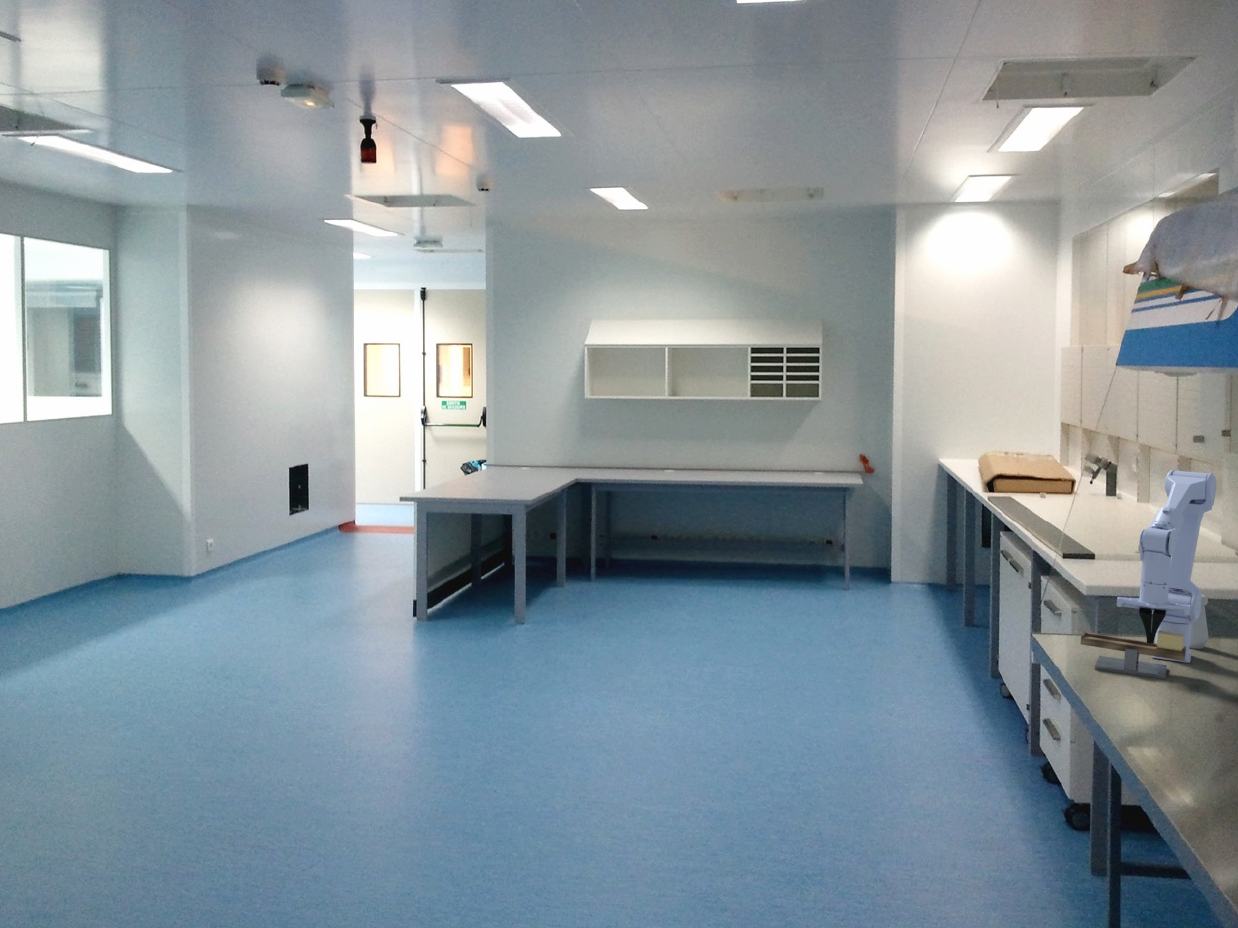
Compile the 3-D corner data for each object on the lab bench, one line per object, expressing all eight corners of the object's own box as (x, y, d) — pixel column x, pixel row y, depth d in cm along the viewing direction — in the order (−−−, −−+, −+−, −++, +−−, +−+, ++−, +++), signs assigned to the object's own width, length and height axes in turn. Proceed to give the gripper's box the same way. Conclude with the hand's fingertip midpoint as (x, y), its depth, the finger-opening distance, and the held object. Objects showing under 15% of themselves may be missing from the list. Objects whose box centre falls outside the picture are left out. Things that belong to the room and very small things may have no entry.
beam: (1079, 648, 243) (1081, 636, 243) (1083, 642, 249) (1084, 630, 249) (1184, 665, 233) (1185, 652, 233) (1184, 658, 239) (1186, 645, 239)
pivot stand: (1099, 658, 249) (1100, 636, 249) (1166, 668, 242) (1168, 645, 242) (1094, 668, 240) (1096, 645, 240) (1164, 679, 234) (1166, 654, 233)
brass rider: (1157, 647, 240) (1158, 629, 240) (1182, 651, 238) (1184, 633, 237) (1156, 650, 237) (1158, 632, 237) (1181, 654, 235) (1183, 636, 234)
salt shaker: (1210, 650, 260) (1215, 597, 259) (1185, 648, 261) (1189, 596, 260) (1202, 644, 266) (1207, 593, 265) (1177, 642, 267) (1181, 591, 266)
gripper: (1117, 580, 238) (1113, 641, 239) (1191, 589, 231) (1186, 651, 232) (1120, 576, 244) (1115, 634, 245) (1192, 583, 237) (1187, 644, 238)
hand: (1150, 642), depth 239 cm, fingers closed
